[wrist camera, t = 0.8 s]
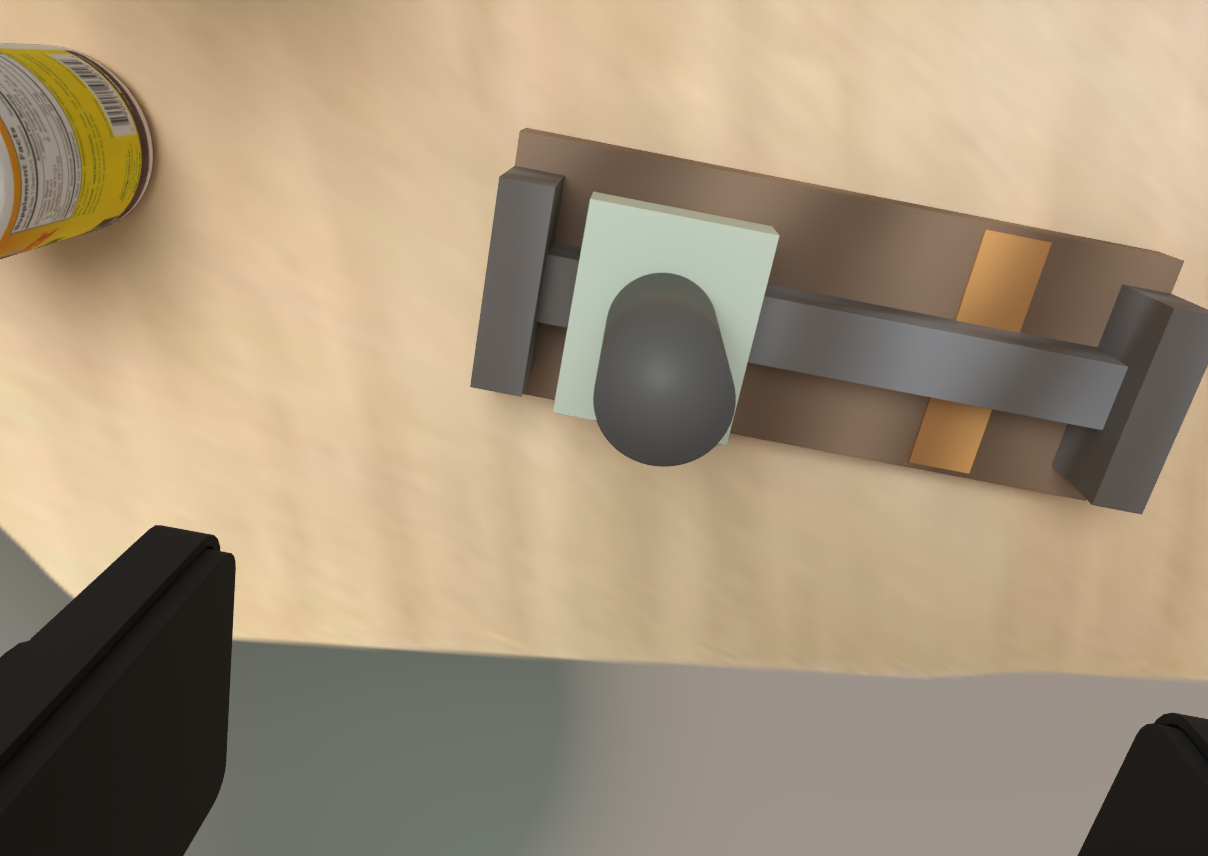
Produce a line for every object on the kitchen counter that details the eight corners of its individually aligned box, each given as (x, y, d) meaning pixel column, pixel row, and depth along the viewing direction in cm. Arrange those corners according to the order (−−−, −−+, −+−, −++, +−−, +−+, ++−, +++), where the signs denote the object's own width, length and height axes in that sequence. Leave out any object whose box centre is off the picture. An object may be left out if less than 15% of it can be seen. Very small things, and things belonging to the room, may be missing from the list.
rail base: (1158, 251, 29) (1243, 282, 25) (1066, 481, 32) (1128, 544, 28) (526, 128, 29) (505, 138, 25) (490, 372, 32) (465, 418, 27)
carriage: (764, 215, 28) (817, 285, 19) (718, 404, 30) (746, 546, 21) (597, 183, 27) (571, 237, 19) (563, 374, 30) (525, 505, 21)
